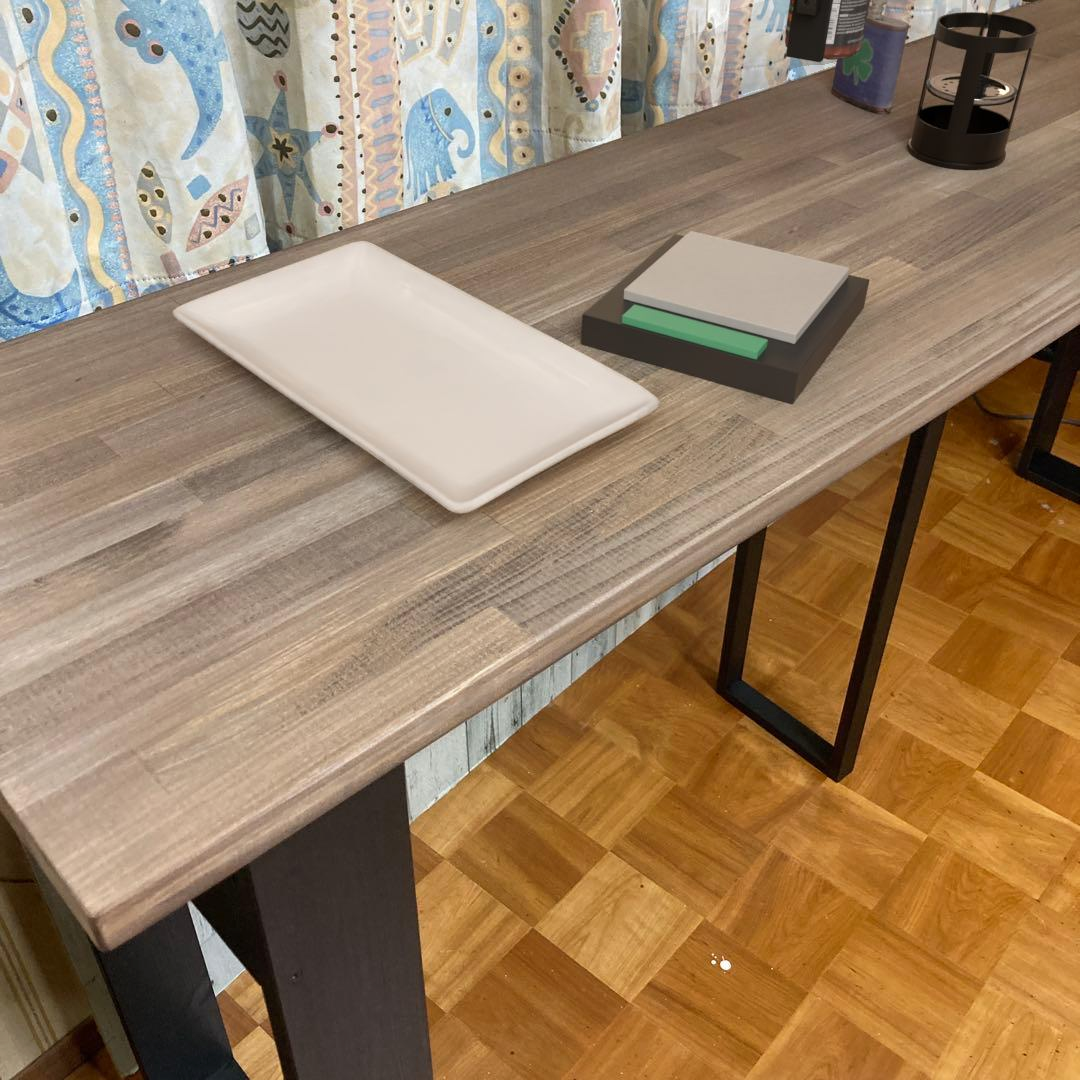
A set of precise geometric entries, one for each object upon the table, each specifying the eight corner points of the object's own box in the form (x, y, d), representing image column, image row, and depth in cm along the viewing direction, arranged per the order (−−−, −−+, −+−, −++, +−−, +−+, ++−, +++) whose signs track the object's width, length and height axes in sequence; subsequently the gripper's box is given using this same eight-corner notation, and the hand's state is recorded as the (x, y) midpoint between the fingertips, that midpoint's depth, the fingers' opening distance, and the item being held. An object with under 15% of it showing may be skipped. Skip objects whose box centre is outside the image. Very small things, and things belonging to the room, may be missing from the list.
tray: (458, 558, 62) (456, 508, 60) (174, 348, 80) (164, 303, 78) (664, 443, 71) (668, 396, 69) (367, 278, 89) (363, 236, 87)
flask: (896, 112, 121) (918, 5, 115) (874, 116, 121) (895, 8, 114) (844, 87, 128) (861, -15, 121) (823, 91, 127) (839, -12, 120)
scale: (863, 308, 86) (871, 269, 84) (792, 404, 75) (800, 362, 73) (672, 261, 92) (675, 224, 90) (580, 344, 81) (582, 303, 79)
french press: (996, 178, 107) (1071, -96, 92) (897, 162, 110) (954, -106, 96) (1012, 140, 115) (1083, -117, 101) (919, 125, 118) (975, -126, 104)
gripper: (870, -332, 81) (816, 13, 95) (772, -328, 68) (726, 70, 82) (976, -329, 78) (903, 27, 92) (894, -324, 65) (824, 88, 80)
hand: (819, 46), depth 87 cm, fingers closed on supplement bottle, 6 cm apart
